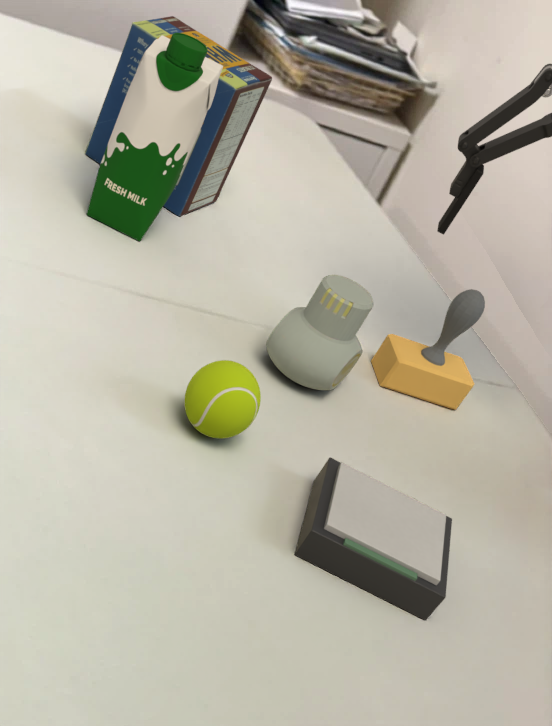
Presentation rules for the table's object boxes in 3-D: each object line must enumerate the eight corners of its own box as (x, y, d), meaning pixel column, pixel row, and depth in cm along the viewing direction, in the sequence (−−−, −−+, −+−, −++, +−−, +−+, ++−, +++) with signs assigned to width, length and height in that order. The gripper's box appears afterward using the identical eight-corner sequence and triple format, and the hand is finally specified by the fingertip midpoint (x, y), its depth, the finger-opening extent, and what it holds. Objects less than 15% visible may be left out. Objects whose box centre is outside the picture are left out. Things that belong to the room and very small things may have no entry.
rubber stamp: (444, 383, 129) (509, 292, 120) (456, 412, 125) (524, 319, 116) (370, 359, 126) (431, 264, 118) (380, 387, 123) (444, 291, 114)
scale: (433, 541, 105) (456, 513, 103) (425, 621, 96) (450, 592, 94) (313, 481, 105) (333, 451, 103) (294, 555, 96) (315, 524, 94)
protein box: (123, 141, 144) (172, 14, 133) (217, 202, 141) (275, 77, 130) (82, 153, 137) (130, 20, 126) (179, 218, 134) (238, 87, 123)
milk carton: (76, 214, 126) (146, 27, 111) (97, 189, 132) (166, 9, 117) (145, 248, 126) (223, 66, 111) (162, 221, 132) (239, 46, 117)
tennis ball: (247, 459, 104) (283, 398, 99) (182, 447, 101) (216, 384, 96) (227, 413, 108) (261, 353, 103) (164, 401, 106) (196, 338, 101)
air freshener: (288, 338, 123) (335, 256, 116) (349, 378, 121) (400, 298, 114) (248, 365, 116) (295, 280, 108) (312, 409, 114) (364, 325, 107)
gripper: (527, -13, 96) (389, 215, 111) (778, 118, 96) (606, 327, 112) (527, -28, 101) (395, 192, 116) (765, 95, 101) (602, 298, 117)
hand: (498, 258), depth 114 cm, fingers open, 13 cm apart
